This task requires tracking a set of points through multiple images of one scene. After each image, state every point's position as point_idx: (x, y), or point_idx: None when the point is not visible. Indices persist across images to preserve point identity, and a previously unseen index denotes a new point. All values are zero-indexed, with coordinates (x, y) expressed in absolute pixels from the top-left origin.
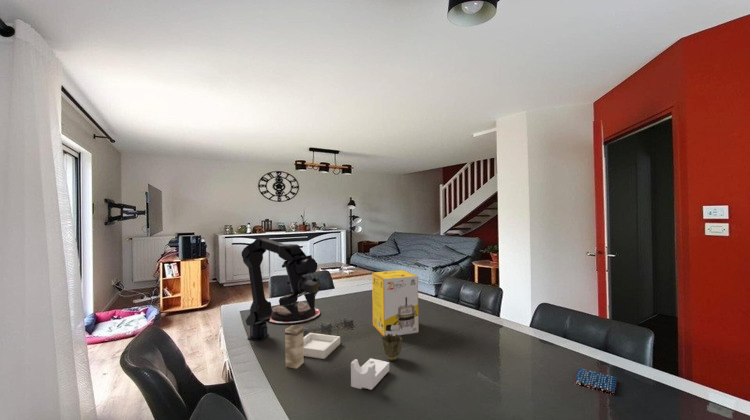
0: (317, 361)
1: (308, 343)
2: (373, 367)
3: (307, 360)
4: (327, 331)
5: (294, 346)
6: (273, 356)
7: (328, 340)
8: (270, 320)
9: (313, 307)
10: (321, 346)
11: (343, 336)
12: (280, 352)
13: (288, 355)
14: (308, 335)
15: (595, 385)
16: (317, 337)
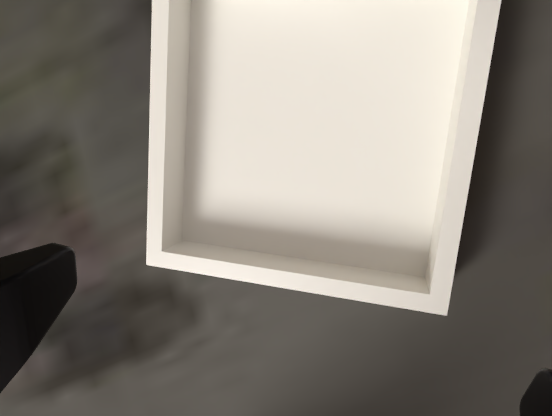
0: (545, 17)
1: (263, 224)
2: None
3: (536, 113)
4: (10, 179)
5: None
6: (498, 403)
7: (185, 78)
8: None
9: (28, 270)
10: (294, 93)
11: (53, 15)
12: (421, 378)
13: None
14: (195, 256)
15: None
16: (175, 182)
